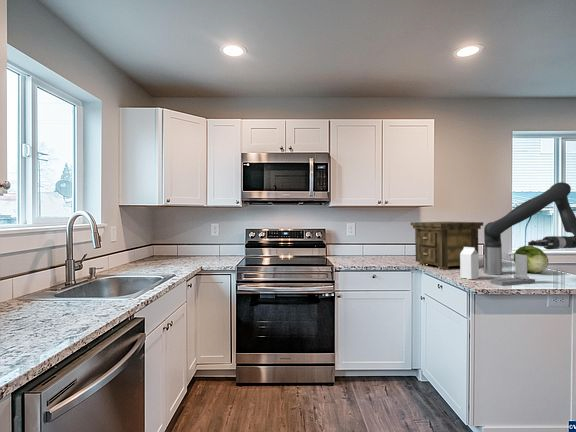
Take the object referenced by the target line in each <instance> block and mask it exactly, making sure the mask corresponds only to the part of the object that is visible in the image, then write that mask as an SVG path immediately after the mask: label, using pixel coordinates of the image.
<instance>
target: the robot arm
mask: <svg viewBox="0 0 576 432" xmlns="http://www.w3.org/2000/svg"><path fill="white" fill-rule="evenodd" d="M571 191H572V189H571V185H570V184H568V183H566V182H561V181H560V182H556V183H554V184H553V185H551V186H550V187H549V189H547V190H546V191H544V192H542V193H541V194H539V195H537V196H534V197H532V198H530V199H528V200H526V201H524V202H522V203H521V204H519V205H517V206H516V207H514V208H513V209H511V210H510V211H509V212H508V213H506V215H504V216H502V217H501V218H499V219H497V220H494V221H491V222H488V223H486V224H485V225H484V230H483V232H484V235H483V236H484V237H483V239H484V258H483V274H486V275H487V274H488V275H493V276H495V275H503V265H502V264H503V263H502V262H503V259H502V258H503V257H502V254H503V253H502V252H503V251H502V250H503V249H502V234H503V233H504V232H506V230H508V229H509V228H511V227H513V226H516V225H517V224H520V223H521V222H523V221H525V220H528V219H529V218H531V217H532V216H535V215H536V214H537V213H539V212H541V211H542V210H543V209H545V208H546V207H548V206H549V205H550V204H552V203H554V204H555V206H556V208H557V211H558V213H559V217H560V220H561V222H562V223H561V224H562V226H563V229H564V232H566V233H570V234H573V235H571V236H566V235H565V236H564V235H561V236H559V235H551V236H544V237H543V238H542V239H536V240H534V239H533V240H530V241H527V243H528V244H527V246H534V247H540V248H544V249H545V250H561V249H576V214H575V213H574V210H573V209H572V207H571V205H570V202H569V198H568V196H569V194H570V193H571Z"/></svg>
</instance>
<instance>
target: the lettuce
mask: <svg viewBox="0 0 576 432" xmlns="http://www.w3.org/2000/svg"><path fill="white" fill-rule="evenodd" d="M515 254H521V255H527V273H529V274H538V273H542V272H543V271H545V270H547V268H548V267H549V257H548V256H547V254H546V253H545V252H544V251H543V250H542V249H541V248H539V247H537V246H529V245H523V246H520V247H518V248H517V249H516V250H515V252H514V253H513V261H514V263H515Z"/></svg>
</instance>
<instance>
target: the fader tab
mask: <svg viewBox="0 0 576 432" xmlns="http://www.w3.org/2000/svg"><path fill="white" fill-rule="evenodd" d="M514 265H515V267H514V268H515V274H514V275H513V278H519V279H529V278H530V276H528V272H527V255H521V254H515V262H514Z"/></svg>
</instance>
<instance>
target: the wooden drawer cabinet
mask: <svg viewBox="0 0 576 432" xmlns="http://www.w3.org/2000/svg"><path fill="white" fill-rule="evenodd" d="M410 226H411V227H412V229H414V231H415V233H414V236H415V239H414V240H415V242H414V243H415V244H414V246H415V250H414V251H415V262H417V263H419V265H420V264H424V265H423V266H427V265H426V264H429V265H432V266H433V265H434V266H437V269H438V268H441V269H440V270H442V269H444V270H449V267H458V266H459V267H460V253H461V252H462V250H463V249H464V247H473V248H475V250H476V251H477V253H478V254H479V230H481V227H483V226H484V222H483V221H481V222H476V221H422V222H421V221H420V222H419V221H418V222H416V221H415V222H410Z"/></svg>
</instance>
